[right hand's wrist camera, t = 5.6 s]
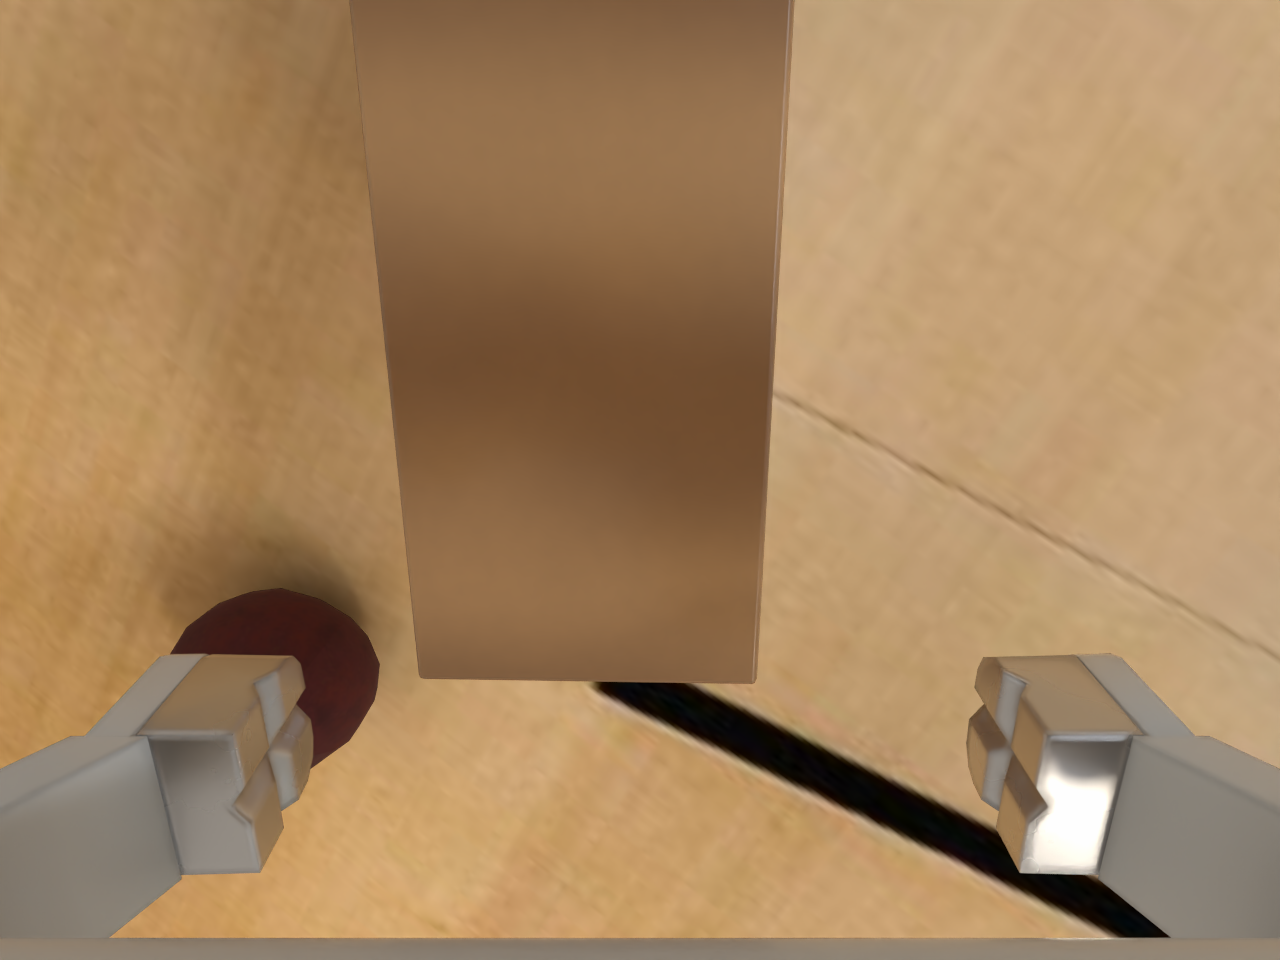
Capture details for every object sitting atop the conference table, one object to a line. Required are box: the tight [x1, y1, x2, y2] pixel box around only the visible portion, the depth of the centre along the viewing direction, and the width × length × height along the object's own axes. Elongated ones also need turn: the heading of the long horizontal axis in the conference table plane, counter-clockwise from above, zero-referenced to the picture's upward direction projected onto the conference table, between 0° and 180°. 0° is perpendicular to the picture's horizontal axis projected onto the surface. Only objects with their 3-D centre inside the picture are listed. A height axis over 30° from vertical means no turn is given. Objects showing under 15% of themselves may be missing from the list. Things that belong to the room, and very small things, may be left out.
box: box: [349, 0, 794, 684], centre depth 17 cm, size 22×6×10 cm, turn 0°
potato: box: [171, 588, 380, 769], centre depth 34 cm, size 7×8×7 cm
